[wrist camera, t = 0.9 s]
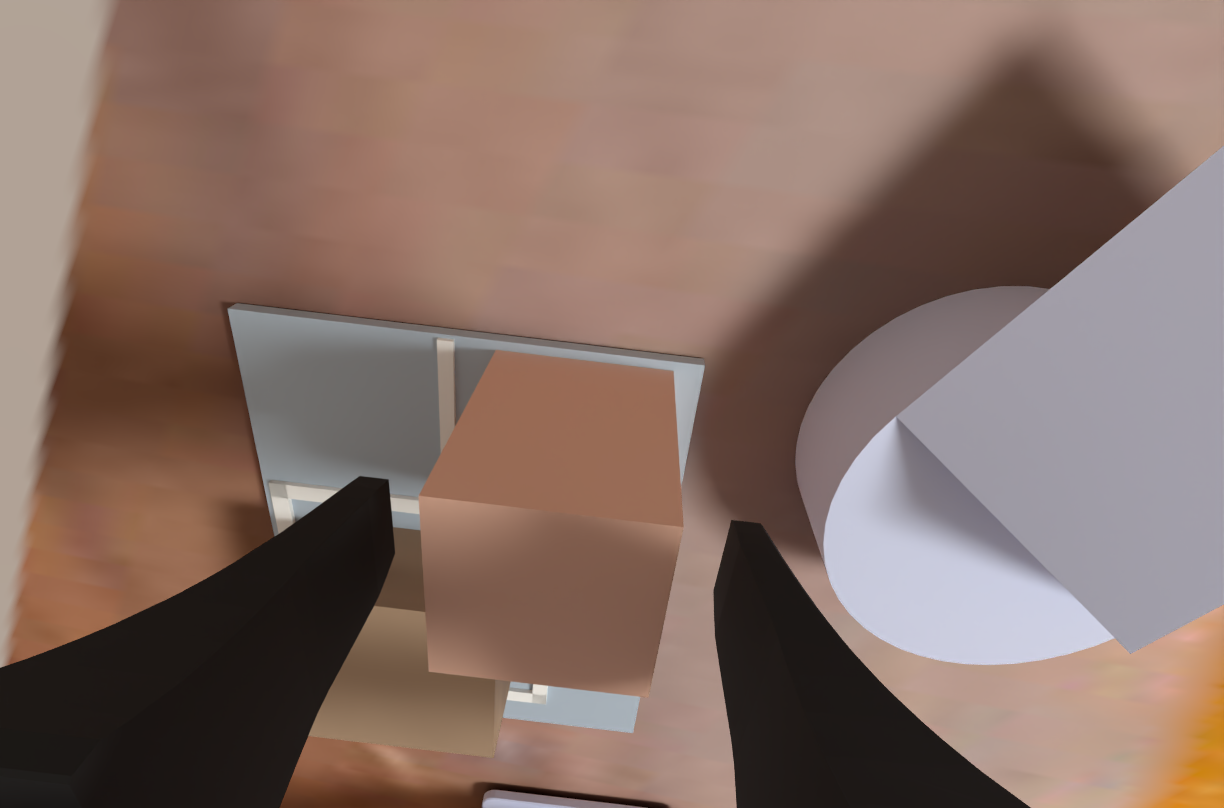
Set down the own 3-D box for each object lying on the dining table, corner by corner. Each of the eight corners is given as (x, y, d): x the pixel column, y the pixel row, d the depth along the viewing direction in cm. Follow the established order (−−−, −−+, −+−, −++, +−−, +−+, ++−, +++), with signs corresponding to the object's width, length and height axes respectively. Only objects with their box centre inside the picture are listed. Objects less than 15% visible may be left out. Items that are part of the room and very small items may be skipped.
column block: (650, 510, 18) (648, 697, 13) (494, 492, 18) (428, 671, 13) (673, 370, 16) (683, 527, 11) (495, 349, 16) (418, 495, 11)
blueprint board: (633, 723, 23) (632, 736, 23) (312, 684, 23) (305, 697, 23) (703, 358, 16) (705, 368, 16) (236, 303, 16) (223, 310, 16)
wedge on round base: (1187, 41, 12) (727, 462, 18) (1673, 30, 6) (763, 665, 12) (1400, 316, 15) (936, 614, 20) (1897, 492, 9) (1053, 846, 14)
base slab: (512, 673, 22) (493, 757, 19) (340, 652, 22) (298, 734, 19) (517, 542, 19) (496, 620, 16) (319, 518, 19) (265, 592, 16)
